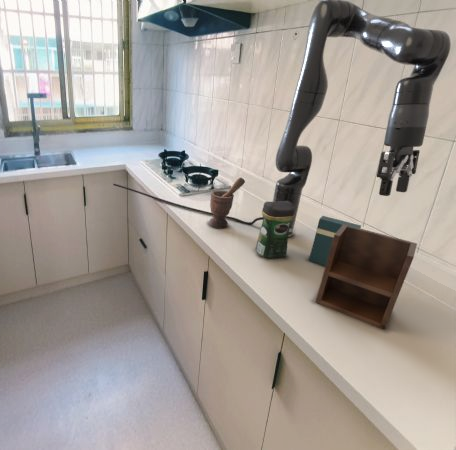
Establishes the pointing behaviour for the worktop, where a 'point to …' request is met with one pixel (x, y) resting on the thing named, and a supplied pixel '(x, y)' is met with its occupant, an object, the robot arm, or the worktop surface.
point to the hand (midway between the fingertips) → (392, 193)
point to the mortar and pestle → (222, 204)
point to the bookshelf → (365, 274)
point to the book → (325, 238)
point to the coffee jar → (275, 229)
